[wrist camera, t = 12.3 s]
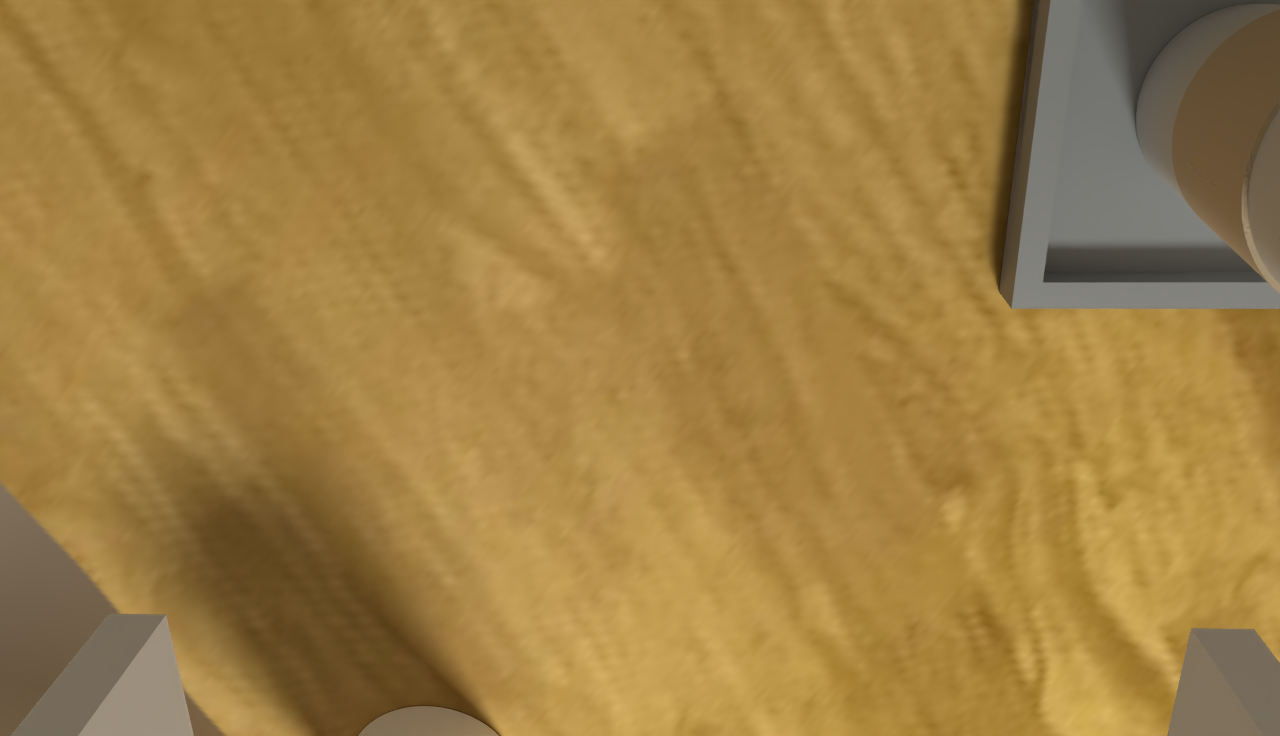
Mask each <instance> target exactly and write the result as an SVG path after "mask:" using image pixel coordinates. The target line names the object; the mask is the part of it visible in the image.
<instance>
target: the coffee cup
mask: <svg viewBox="0 0 1280 736" xmlns="http://www.w3.org/2000/svg"><path fill="white" fill-rule="evenodd" d="M1136 130H1137V136H1138V141H1139V145H1140V148H1141V150H1142V153H1143V155H1144V157H1145V159H1146V161H1147V163H1148V164H1149V166H1150V167H1151V169H1152V170H1153V171H1154V172H1155V174H1156V175H1157V176H1158V177H1159V178H1160V179H1161V180H1162V181H1163V182H1165V183H1166V184H1167V185H1168V186H1169V187H1170V188H1171V189H1172V190H1174V191H1175V192H1176V193H1177V194H1178V195H1179V196H1180V197H1181V198H1183V199H1184V200H1185V201H1186V202H1187V203H1188V205H1189V206H1190V208H1191V209H1192V210H1193V211H1194V213H1195V214H1196V215H1197V216H1198V217H1199V218H1200V219H1201V220H1202V221H1203V222H1204V223H1205V224H1206V225H1207V226H1208V227H1210V228H1211V229H1212V230H1213V231H1214V232H1215V233H1216V234H1217V235H1218V236H1219V237H1220V238H1221V239H1222V240H1223V241H1224V242H1225V243H1226V244H1227V245H1229V246H1230V247H1231V248H1232V249H1233V250H1234V251H1235V252H1236V253H1237V254H1238V255H1239V256H1240V257H1241V258H1242V259H1243V260H1244V261H1245V262H1247V263H1248V264H1249V265H1250V266H1251V267H1252V268H1253V269H1254V270H1255V271H1256V272H1257V273H1258V274H1259V275H1260V276H1261V277H1262V278H1263V279H1264V280H1266V281H1267V282H1268V283H1269V284H1270V285H1271V286H1272V287H1273V288H1274V289H1275V290H1276V291H1277V292H1278V293H1279V294H1280V4H1243V5H1236V6H1231V7H1227V8H1224V9H1221V10H1218V11H1215V12H1213V13H1210V14H1208V15H1206V16H1204V17H1202V18H1200V19H1198V20H1197V21H1195V22H1193V23H1192V24H1190V25H1189V26H1188V27H1186V28H1185V29H1183V30H1182V31H1181V32H1180V33H1178V34H1177V35H1176V36H1175V37H1174V38H1173V39H1172V40H1171V41H1170V42H1169V43H1168V44H1167V45H1166V46H1165V47H1164V49H1163V50H1162V51H1161V52H1160V54H1159V55H1158V56H1157V58H1156V59H1155V61H1154V62H1153V64H1152V66H1151V67H1150V69H1149V71H1148V73H1147V75H1146V77H1145V79H1144V82H1143V84H1142V87H1141V90H1140V94H1139V98H1138V103H1137V110H1136Z"/></svg>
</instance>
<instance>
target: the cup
mask: <svg viewBox="0 0 1280 736" xmlns="http://www.w3.org/2000/svg"><path fill="white" fill-rule="evenodd" d="M358 736H499V735H498V734H497V733H496V732H495V731H493V730H492V729H491V728H490V727H488V726H487V725H486V724H484V723H482V722H481V721H479V720H477V719H475V718H473V717H471V716H469V715H467V714H464V713H461V712H458V711H455V710H451V709H447V708H442V707H434V706H414V707H407V708H402V709H398V710H394V711H391V712H389V713H386V714H384V715H382V716H380V717H378V718H377V719H375V720H374V721H372V722H371V723H370V724H368V725H367V726H366V727H365V728H364V729H363V730H362V731H361V733H360V734H359V735H358Z"/></svg>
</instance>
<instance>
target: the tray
mask: <svg viewBox="0 0 1280 736" xmlns="http://www.w3.org/2000/svg"><path fill="white" fill-rule="evenodd" d="M1243 4H1280V0H1034V7H1033V15H1032V24H1031V32H1030V40H1029V48H1028V57H1027V65H1026V73H1025V81H1024V90H1023V98H1022V106H1021V115H1020V123H1019V131H1018V139H1017V148H1016V156H1015V164H1014V172H1013V181H1012V189H1011V197H1010V205H1009V214H1008V222H1007V230H1006V239H1005V247H1004V255H1003V263H1002V272H1001V280H1000V288H999V293H1000V294H1001V295H1002V296H1003V298H1004V299H1005V300H1006V302H1007V303H1008V304H1009V306H1010V307H1011V308H1129V309H1280V294H1279V293H1278V292H1277V291H1276V290H1275V289H1274V288H1273V287H1272V286H1271V285H1270V284H1269V283H1268V282H1267V281H1266V280H1264V279H1263V278H1262V277H1261V276H1260V275H1259V274H1258V273H1257V272H1256V271H1255V270H1254V269H1253V268H1252V267H1251V266H1250V265H1249V264H1248V263H1247V262H1245V261H1244V260H1243V259H1242V258H1241V257H1240V256H1239V255H1238V254H1237V253H1236V252H1235V251H1234V250H1233V249H1232V248H1231V247H1230V246H1229V245H1227V244H1226V243H1225V242H1224V241H1223V240H1222V239H1221V238H1220V237H1219V236H1218V235H1217V234H1216V233H1215V232H1214V231H1213V230H1212V229H1211V228H1210V227H1208V226H1207V225H1206V224H1205V223H1204V222H1203V221H1202V220H1201V219H1200V218H1199V217H1198V216H1197V215H1196V214H1195V213H1194V211H1193V210H1192V209H1191V208H1190V206H1189V205H1188V203H1187V202H1186V201H1185V200H1184V199H1183V198H1181V197H1180V196H1179V195H1178V194H1177V193H1176V192H1175V191H1174V190H1172V189H1171V188H1170V187H1169V186H1168V185H1167V184H1166V183H1165V182H1163V181H1162V180H1161V179H1160V178H1159V177H1158V176H1157V175H1156V174H1155V172H1154V171H1153V170H1152V169H1151V167H1150V166H1149V164H1148V163H1147V161H1146V159H1145V157H1144V155H1143V153H1142V150H1141V148H1140V145H1139V141H1138V136H1137V130H1136V110H1137V103H1138V98H1139V94H1140V90H1141V87H1142V84H1143V82H1144V79H1145V77H1146V75H1147V73H1148V71H1149V69H1150V67H1151V66H1152V64H1153V62H1154V61H1155V59H1156V58H1157V56H1158V55H1159V54H1160V52H1161V51H1162V50H1163V49H1164V47H1165V46H1166V45H1167V44H1168V43H1169V42H1170V41H1171V40H1172V39H1173V38H1174V37H1175V36H1176V35H1177V34H1178V33H1180V32H1181V31H1182V30H1183V29H1185V28H1186V27H1188V26H1189V25H1190V24H1192V23H1193V22H1195V21H1197V20H1198V19H1200V18H1202V17H1204V16H1206V15H1208V14H1210V13H1213V12H1215V11H1218V10H1221V9H1224V8H1227V7H1231V6H1236V5H1243Z"/></svg>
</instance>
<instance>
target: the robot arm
mask: <svg viewBox="0 0 1280 736" xmlns="http://www.w3.org/2000/svg"><path fill="white" fill-rule="evenodd" d="M11 736H194V735H193V731H192V726H191V722H190V718H189V713H188V709H187V704H186V700H185V696H184V691H183V687H182V682H181V678H180V674H179V669H178V665H177V660H176V656H175V652H174V647H173V643H172V639H171V634H170V630H169V625H168V621H167V617H166V615H148V614H109V615H108V616H107V617H106V618H105V620H104V621H103V622H102V623H101V624H100V626H99V627H98V628H97V630H96V631H95V632H94V633H93V635H92V636H91V637H90V638H89V639H88V641H87V642H86V643H85V644H84V646H83V647H82V648H81V649H80V651H79V652H78V653H77V654H76V656H75V657H74V658H73V659H72V660H71V662H70V663H69V664H68V665H67V667H66V668H65V669H64V670H63V672H62V673H61V674H60V675H59V677H58V678H57V679H56V680H55V682H54V683H53V684H52V685H51V687H50V688H49V689H48V690H47V692H46V693H45V694H44V695H43V697H42V698H41V699H40V700H39V701H38V703H37V704H36V705H35V706H34V708H33V709H32V710H31V711H30V713H29V714H28V715H27V716H26V718H25V719H24V720H23V721H22V723H21V724H20V725H19V726H18V728H17V729H16V730H15V731H14V732H13V734H12V735H11ZM1167 736H1280V663H1279V662H1278V660H1277V659H1276V658H1275V656H1274V655H1273V654H1272V652H1271V651H1270V650H1269V648H1268V647H1267V646H1266V644H1265V643H1264V642H1263V641H1262V639H1261V638H1260V637H1259V635H1258V634H1257V633H1256V631H1255V630H1254V629H1197V628H1191V632H1190V636H1189V641H1188V645H1187V650H1186V654H1185V659H1184V663H1183V668H1182V672H1181V677H1180V681H1179V686H1178V690H1177V695H1176V699H1175V704H1174V708H1173V713H1172V717H1171V722H1170V726H1169V731H1168V735H1167Z"/></svg>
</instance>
